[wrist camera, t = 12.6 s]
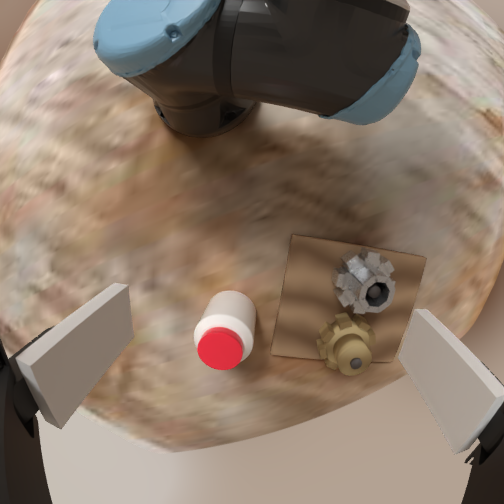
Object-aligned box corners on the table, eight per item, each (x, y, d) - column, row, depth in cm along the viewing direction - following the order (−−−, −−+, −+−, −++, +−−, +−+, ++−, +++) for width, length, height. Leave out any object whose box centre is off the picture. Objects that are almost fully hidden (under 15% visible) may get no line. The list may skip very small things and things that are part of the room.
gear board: (291, 233, 38) (298, 246, 29) (422, 256, 37) (453, 271, 29) (270, 349, 42) (270, 384, 33) (389, 357, 42) (408, 387, 33)
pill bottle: (257, 334, 42) (254, 377, 31) (210, 335, 42) (193, 375, 32) (254, 289, 40) (249, 323, 30) (203, 291, 41) (183, 323, 30)
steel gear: (338, 243, 36) (353, 254, 30) (392, 252, 36) (415, 264, 29) (325, 302, 38) (336, 323, 32) (378, 307, 38) (396, 328, 31)
